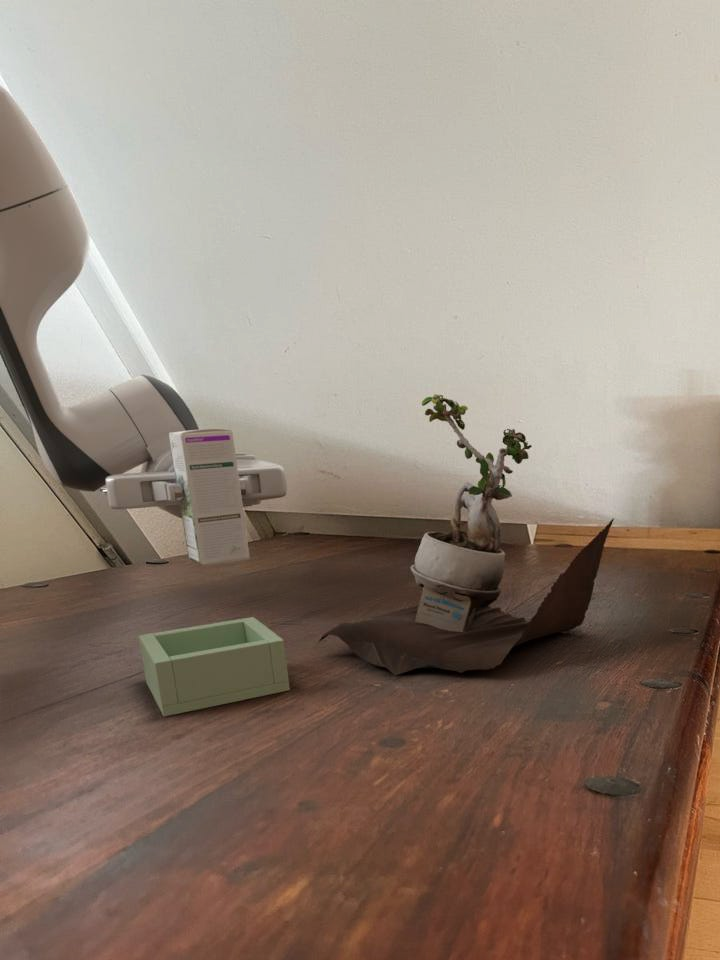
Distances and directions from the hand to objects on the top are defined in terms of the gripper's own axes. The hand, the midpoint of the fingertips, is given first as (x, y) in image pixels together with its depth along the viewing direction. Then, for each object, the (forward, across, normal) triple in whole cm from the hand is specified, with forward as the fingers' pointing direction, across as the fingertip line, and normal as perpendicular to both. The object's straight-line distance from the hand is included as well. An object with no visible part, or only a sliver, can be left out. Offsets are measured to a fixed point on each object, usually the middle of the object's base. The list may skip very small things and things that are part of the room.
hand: (211, 489), depth 86 cm
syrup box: (-1, 0, +8) cm, 8 cm away
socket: (+26, -7, +14) cm, 30 cm away
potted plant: (+28, +16, +14) cm, 35 cm away
